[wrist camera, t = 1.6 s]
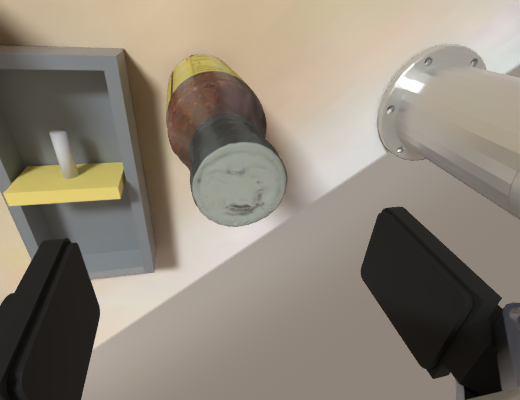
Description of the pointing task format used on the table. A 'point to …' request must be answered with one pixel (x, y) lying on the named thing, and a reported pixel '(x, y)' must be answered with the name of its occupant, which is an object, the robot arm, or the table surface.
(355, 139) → the table surface
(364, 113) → the table surface
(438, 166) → the robot arm
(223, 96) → the sauce bottle
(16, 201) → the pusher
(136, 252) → the grey tray
